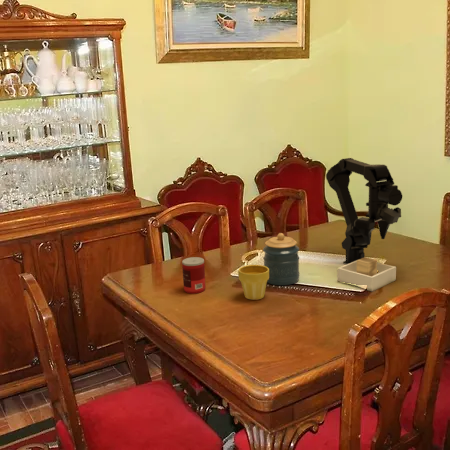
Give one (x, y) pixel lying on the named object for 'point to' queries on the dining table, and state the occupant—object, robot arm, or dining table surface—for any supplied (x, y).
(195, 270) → the canned food
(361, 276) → the bin
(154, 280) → the dining table surface
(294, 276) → the canister
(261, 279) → the plant pot
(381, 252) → the dining table surface
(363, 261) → the wooden block
